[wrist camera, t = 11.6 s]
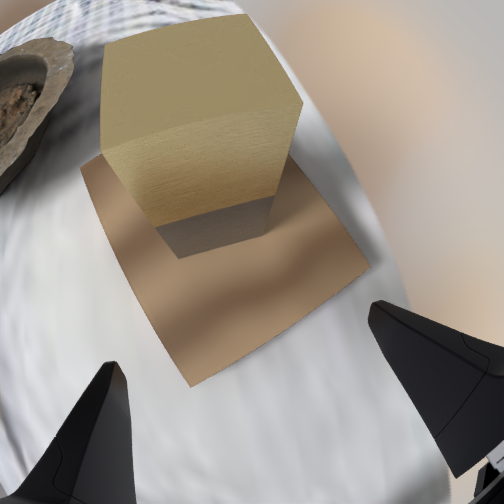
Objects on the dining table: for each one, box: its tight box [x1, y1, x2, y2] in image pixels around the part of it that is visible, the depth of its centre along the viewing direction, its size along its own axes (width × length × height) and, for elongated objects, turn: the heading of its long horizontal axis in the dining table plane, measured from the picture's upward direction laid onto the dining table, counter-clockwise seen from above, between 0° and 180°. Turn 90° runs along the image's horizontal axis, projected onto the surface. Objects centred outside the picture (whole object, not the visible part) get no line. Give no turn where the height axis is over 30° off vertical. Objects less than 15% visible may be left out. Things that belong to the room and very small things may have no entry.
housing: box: [100, 14, 303, 259], centre depth 13 cm, size 6×6×12 cm
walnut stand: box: [80, 154, 371, 388], centre depth 20 cm, size 18×14×2 cm
